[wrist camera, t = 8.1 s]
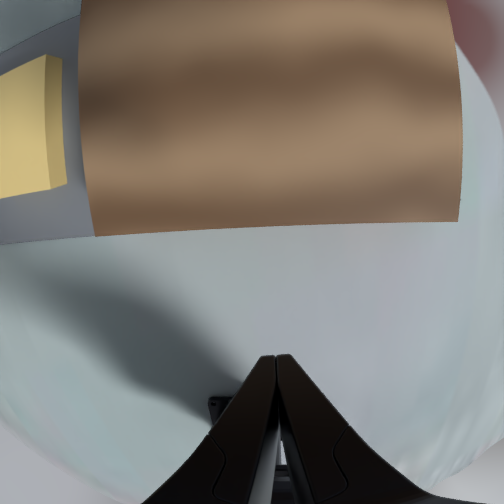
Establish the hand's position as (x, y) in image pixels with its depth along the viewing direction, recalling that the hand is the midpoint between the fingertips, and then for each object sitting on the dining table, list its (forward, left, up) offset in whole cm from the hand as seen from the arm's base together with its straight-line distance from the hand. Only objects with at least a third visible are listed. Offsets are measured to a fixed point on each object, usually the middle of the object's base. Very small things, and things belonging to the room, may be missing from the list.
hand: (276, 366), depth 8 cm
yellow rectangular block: (+9, +16, -9) cm, 21 cm away
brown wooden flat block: (+9, -1, -12) cm, 15 cm away
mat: (+9, +16, -12) cm, 22 cm away
